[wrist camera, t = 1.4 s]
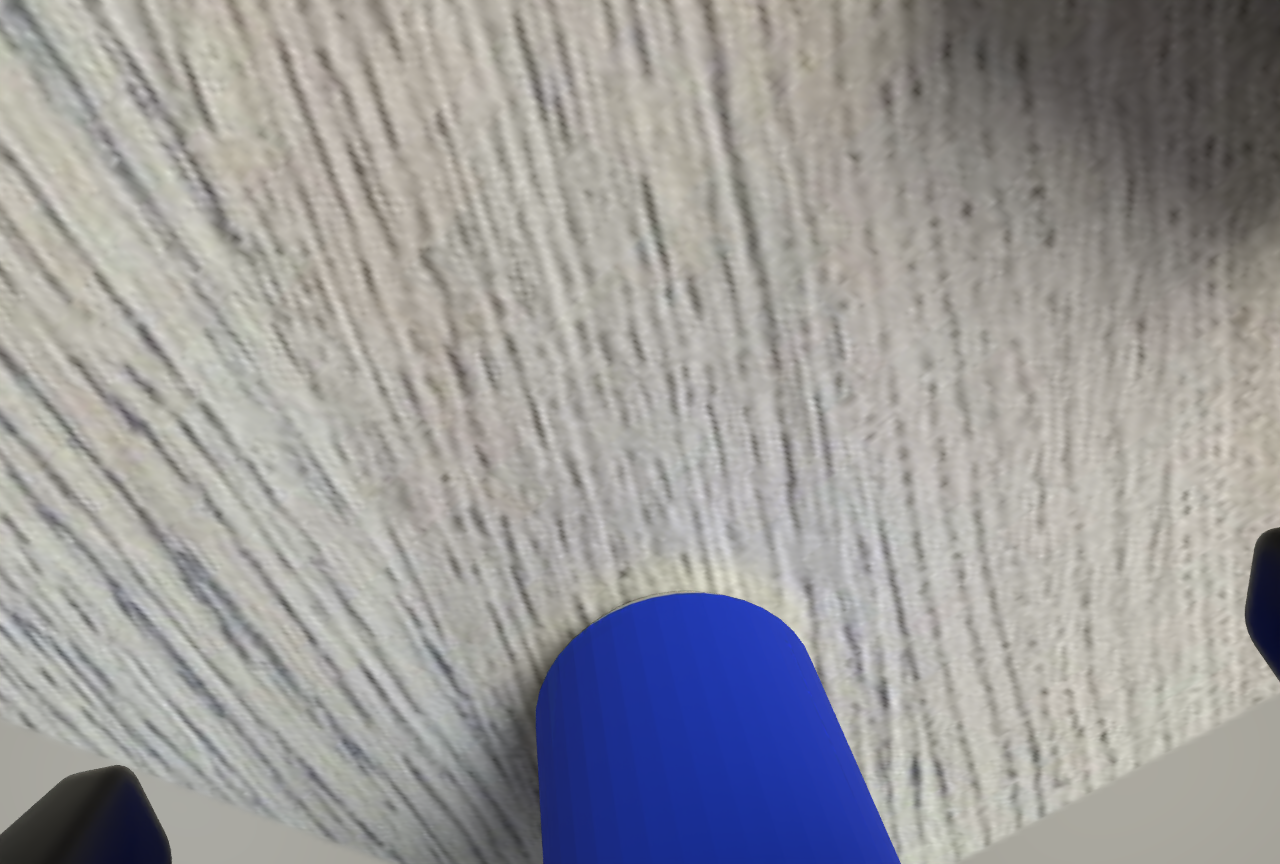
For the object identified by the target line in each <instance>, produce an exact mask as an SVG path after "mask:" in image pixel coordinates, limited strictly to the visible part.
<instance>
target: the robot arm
mask: <svg viewBox="0 0 1280 864" xmlns="http://www.w3.org/2000/svg"><path fill="white" fill-rule="evenodd" d="M1245 622H1246V626H1247V630H1248V633H1249V635H1250V637H1251V640H1252V641H1253V643H1254V645H1255V647H1256V648H1257V649H1258V651H1259V652H1260V654H1261V655H1262V657H1263V658H1264V660H1265V661H1266V662H1267V664H1268V665H1269V667H1270V668H1271V670H1272V671H1273V673H1274V674H1275V675H1276V677H1277V678H1278V680H1279V681H1280V527H1279V528H1274V529H1270V530H1268V531H1266V532H1264V533H1263V534H1262V535H1261V536H1260V537H1259V539H1258V540H1257V542H1256V544H1255V548H1254V554H1253V560H1252V567H1251V573H1250V579H1249V586H1248V592H1247V599H1246V605H1245ZM0 864H172V857H171V849H170V845H169V841H168V839H167V836H166V834H165V832H164V830H163V828H162V826H161V824H160V822H159V820H158V818H157V816H156V814H155V812H154V810H153V808H152V806H151V804H150V802H149V800H148V798H147V796H146V794H145V792H144V790H143V788H142V786H141V784H140V782H139V780H138V779H137V777H136V775H135V774H134V772H132V771H131V770H130V769H129V768H127V767H125V766H120V765H114V766H109V767H105V768H99V769H94V770H89V771H85V772H80V773H76V774H73V775H70V776H68V777H66V778H64V779H63V780H62V781H60V782H59V783H58V784H57V785H56V786H55V787H54V788H53V789H51V790H50V791H49V792H48V793H47V794H46V795H45V796H44V797H42V798H41V799H40V800H39V801H38V802H37V803H36V804H34V805H33V806H32V807H31V808H30V809H29V810H28V811H27V812H25V813H24V814H23V815H22V816H21V817H20V818H19V819H18V820H16V821H15V822H14V823H13V824H12V825H11V826H10V827H9V828H7V829H6V830H5V831H4V832H3V833H2V834H1V835H0Z"/></svg>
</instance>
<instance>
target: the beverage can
mask: <svg viewBox="0 0 1280 864" xmlns="http://www.w3.org/2000/svg"><path fill="white" fill-rule="evenodd" d="M536 740H537V758H538V776H539V794H540V812H541V830H542V848H543V864H901V863H900V861H899V858H898V856H897V854H896V852H895V849H894V847H893V845H892V842H891V840H890V838H889V836H888V833H887V831H886V829H885V827H884V824H883V822H882V820H881V817H880V815H879V813H878V811H877V808H876V806H875V804H874V802H873V799H872V797H871V795H870V793H869V790H868V788H867V786H866V783H865V781H864V779H863V777H862V774H861V772H860V770H859V768H858V765H857V763H856V761H855V759H854V756H853V754H852V752H851V749H850V747H849V745H848V743H847V740H846V738H845V736H844V734H843V731H842V729H841V727H840V724H839V722H838V720H837V718H836V715H835V713H834V711H833V709H832V706H831V704H830V702H829V700H828V697H827V695H826V693H825V690H824V688H823V686H822V684H821V681H820V679H819V677H818V675H817V672H816V670H815V668H814V666H813V663H812V661H811V659H810V657H809V655H808V652H807V650H806V648H805V646H804V645H803V643H802V642H801V641H800V639H799V638H798V637H797V635H796V634H795V633H794V631H793V630H791V629H790V628H789V627H788V626H787V625H786V624H785V623H784V622H783V621H782V620H781V619H779V618H778V617H776V616H775V615H773V614H771V613H770V612H768V611H767V610H765V609H763V608H761V607H759V606H756V605H754V604H752V603H749V602H747V601H745V600H741V599H737V598H733V597H729V596H725V595H720V594H715V593H705V592H695V591H678V592H667V593H661V594H655V595H650V596H647V597H644V598H640V599H637V600H634V601H631V602H629V603H627V604H625V605H622V606H620V607H618V608H616V609H614V610H612V611H611V612H609V613H608V614H606V615H604V616H603V617H601V618H600V619H598V620H596V621H595V622H594V623H592V624H591V625H590V626H589V627H587V628H586V629H585V630H584V631H583V632H581V633H580V634H579V635H578V636H576V637H575V638H574V639H573V640H572V641H571V642H570V643H569V644H568V645H567V646H566V648H565V649H564V650H563V651H562V652H561V653H560V654H559V655H558V657H557V658H556V660H555V662H554V663H553V665H552V666H551V668H550V669H549V671H548V672H547V675H546V677H545V679H544V682H543V684H542V687H541V689H540V692H539V697H538V701H537V706H536Z"/></svg>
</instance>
